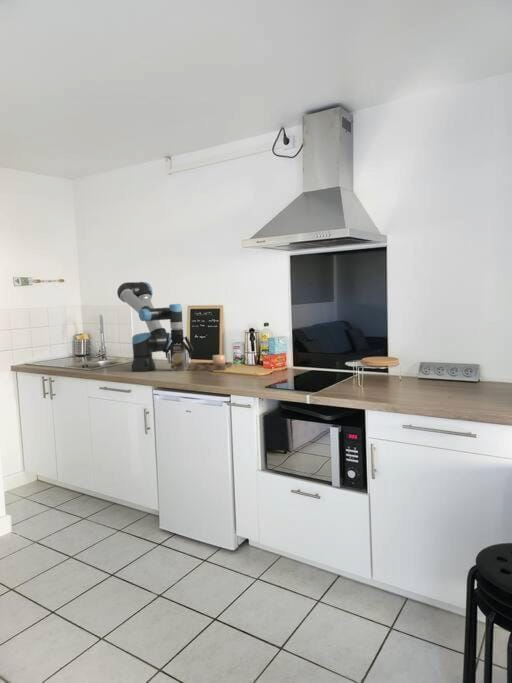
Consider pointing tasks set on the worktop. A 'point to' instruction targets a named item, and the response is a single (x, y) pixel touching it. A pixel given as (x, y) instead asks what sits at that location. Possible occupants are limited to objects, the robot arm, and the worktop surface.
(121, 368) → the worktop surface
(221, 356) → the light brown rounded block
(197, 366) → the caddy
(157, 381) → the worktop surface
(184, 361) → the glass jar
